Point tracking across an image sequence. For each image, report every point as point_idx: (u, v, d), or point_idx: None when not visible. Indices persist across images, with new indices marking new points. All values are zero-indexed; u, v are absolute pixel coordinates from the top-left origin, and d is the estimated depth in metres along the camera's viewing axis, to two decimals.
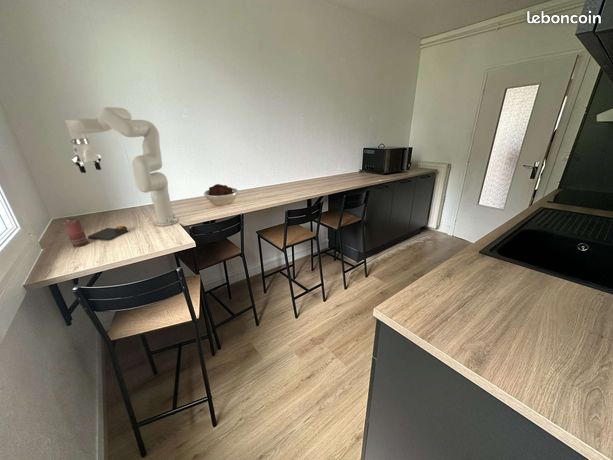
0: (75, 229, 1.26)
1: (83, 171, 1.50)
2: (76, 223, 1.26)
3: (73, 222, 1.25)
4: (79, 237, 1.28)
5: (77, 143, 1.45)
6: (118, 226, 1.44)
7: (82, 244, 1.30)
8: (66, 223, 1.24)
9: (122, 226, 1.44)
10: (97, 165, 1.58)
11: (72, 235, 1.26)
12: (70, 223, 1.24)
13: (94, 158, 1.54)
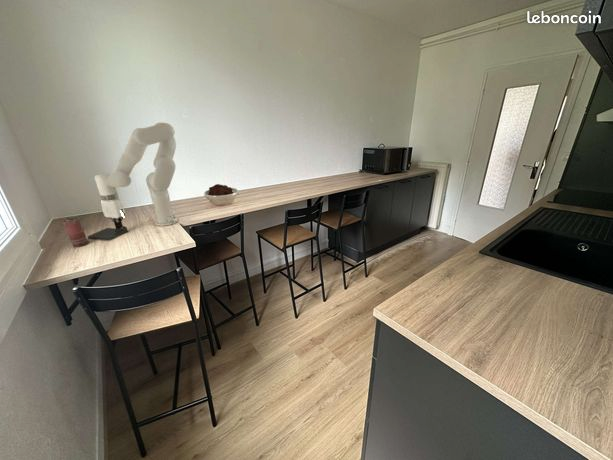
0: (75, 229, 1.26)
1: None
2: (76, 223, 1.26)
3: (73, 222, 1.25)
4: (79, 237, 1.28)
5: None
6: None
7: (82, 244, 1.30)
8: (66, 223, 1.24)
9: (122, 227, 1.44)
10: None
11: (72, 235, 1.26)
12: (70, 223, 1.24)
13: (114, 215, 1.38)
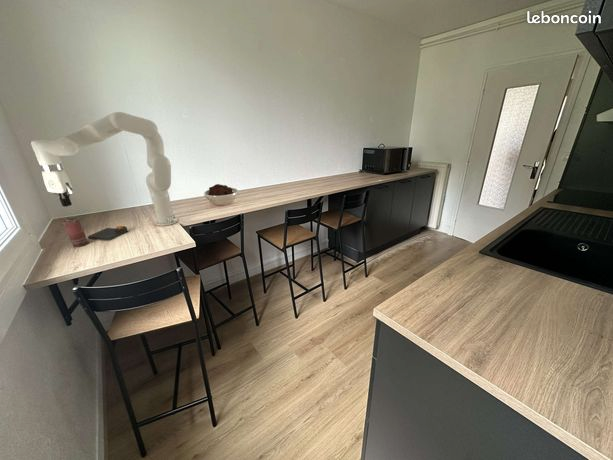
0: (75, 229, 1.26)
1: None
2: (76, 223, 1.26)
3: (73, 222, 1.25)
4: (79, 237, 1.28)
5: None
6: (118, 226, 1.44)
7: (82, 244, 1.30)
8: (66, 223, 1.24)
9: (122, 226, 1.44)
10: None
11: (72, 235, 1.26)
12: (70, 223, 1.24)
13: (58, 190, 1.17)
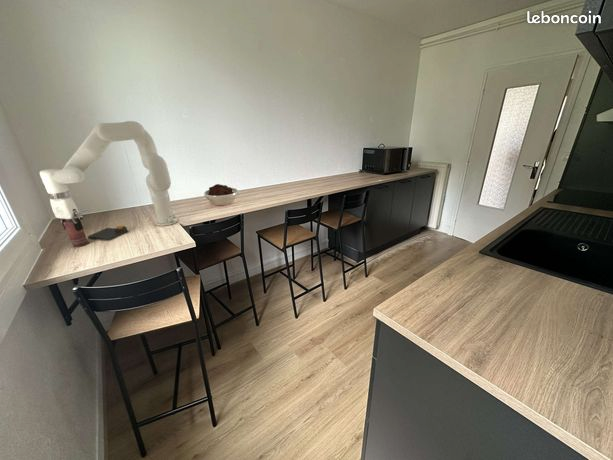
0: (75, 229, 1.26)
1: None
2: None
3: (73, 222, 1.25)
4: (79, 237, 1.28)
5: None
6: (118, 226, 1.44)
7: (82, 244, 1.30)
8: (66, 223, 1.24)
9: (122, 226, 1.44)
10: None
11: (72, 235, 1.26)
12: (70, 223, 1.24)
13: (65, 216, 1.22)
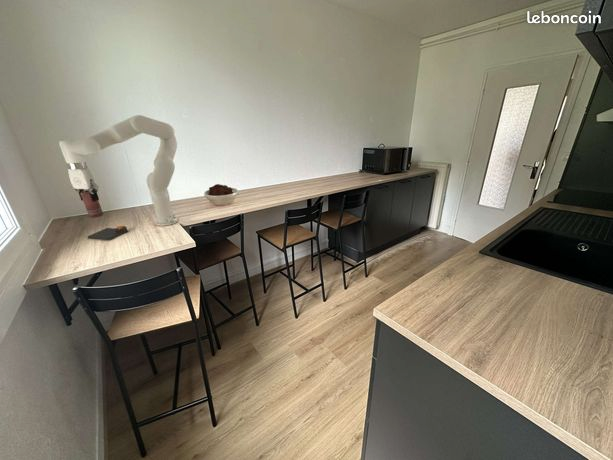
0: (91, 200, 1.31)
1: None
2: None
3: None
4: (95, 208, 1.33)
5: None
6: (118, 226, 1.44)
7: (98, 215, 1.35)
8: (83, 193, 1.29)
9: (122, 226, 1.44)
10: None
11: (89, 205, 1.31)
12: (87, 193, 1.29)
13: (82, 186, 1.27)
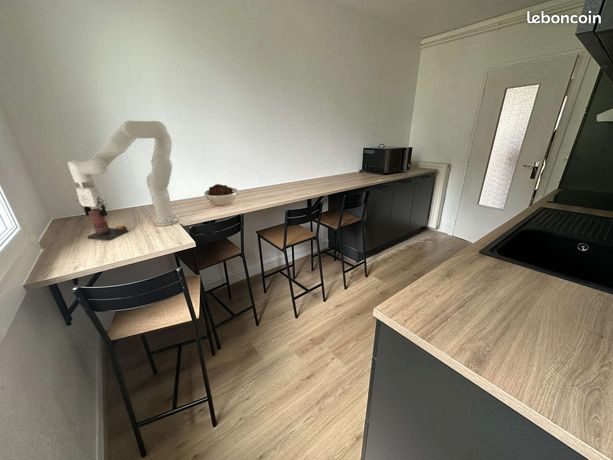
0: (99, 218, 1.36)
1: None
2: None
3: (97, 211, 1.35)
4: (102, 226, 1.38)
5: None
6: (118, 226, 1.44)
7: (105, 232, 1.40)
8: (91, 212, 1.34)
9: (122, 226, 1.44)
10: None
11: (96, 224, 1.36)
12: (95, 212, 1.34)
13: (90, 204, 1.31)
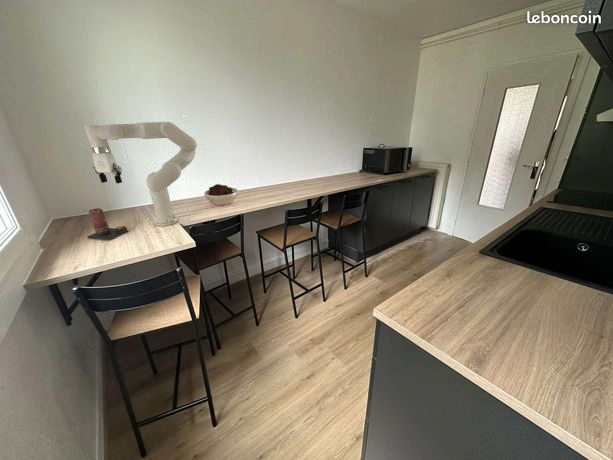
0: (99, 218, 1.36)
1: None
2: (100, 213, 1.36)
3: (97, 211, 1.35)
4: (102, 226, 1.38)
5: None
6: (118, 226, 1.44)
7: (105, 232, 1.40)
8: (91, 212, 1.34)
9: (122, 226, 1.44)
10: None
11: (96, 224, 1.36)
12: (95, 212, 1.34)
13: (106, 170, 1.33)
